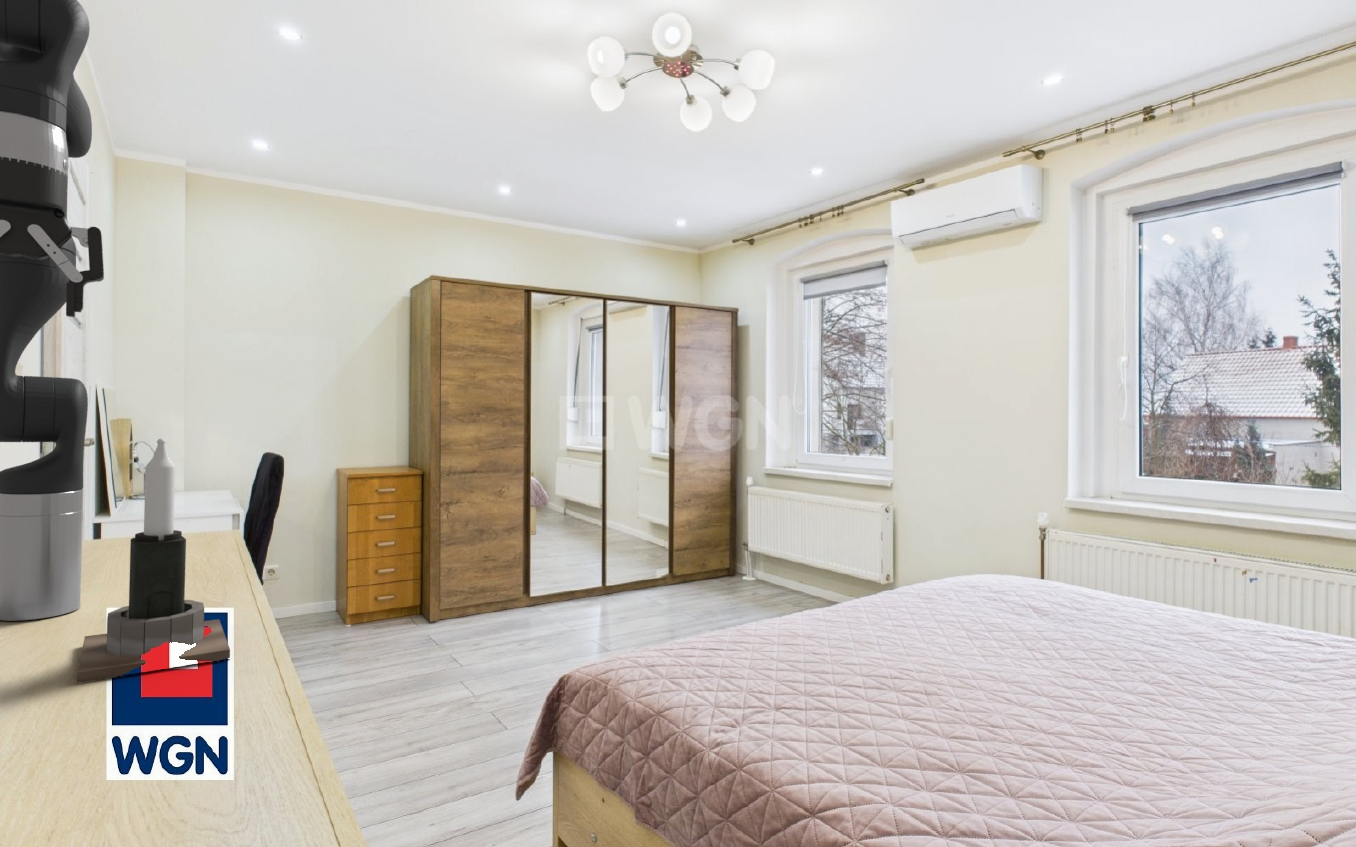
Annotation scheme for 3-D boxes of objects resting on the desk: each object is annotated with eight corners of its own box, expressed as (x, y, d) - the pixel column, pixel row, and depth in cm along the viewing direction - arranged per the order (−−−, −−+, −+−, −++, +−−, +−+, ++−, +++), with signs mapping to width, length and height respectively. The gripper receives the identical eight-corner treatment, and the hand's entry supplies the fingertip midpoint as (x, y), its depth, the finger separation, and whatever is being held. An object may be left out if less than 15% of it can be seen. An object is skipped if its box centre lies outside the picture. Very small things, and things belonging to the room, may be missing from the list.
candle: (177, 633, 89) (182, 437, 89) (185, 643, 86) (190, 439, 85) (126, 641, 86) (131, 437, 85) (132, 652, 82) (138, 439, 82)
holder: (84, 645, 87) (85, 604, 87) (219, 628, 96) (220, 590, 95) (76, 683, 76) (78, 635, 76) (229, 659, 84) (230, 616, 84)
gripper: (107, 187, 85) (103, 321, 85) (-62, 158, 76) (-65, 307, 76) (104, 172, 79) (101, 316, 79) (-79, 138, 70) (-83, 300, 71)
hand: (19, 312), depth 78 cm, fingers open, 8 cm apart
